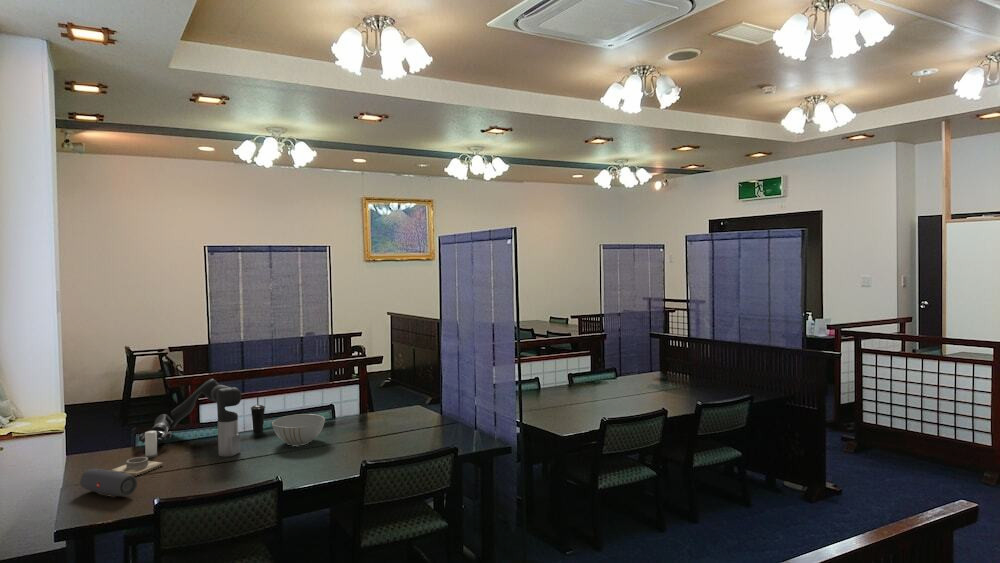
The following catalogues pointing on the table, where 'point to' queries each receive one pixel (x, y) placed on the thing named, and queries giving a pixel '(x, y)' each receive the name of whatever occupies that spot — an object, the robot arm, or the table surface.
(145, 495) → the table surface
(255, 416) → the drinking cup
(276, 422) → the decorative bowl
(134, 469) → the duct base
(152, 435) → the duct sleeve
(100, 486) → the bluetooth speaker
